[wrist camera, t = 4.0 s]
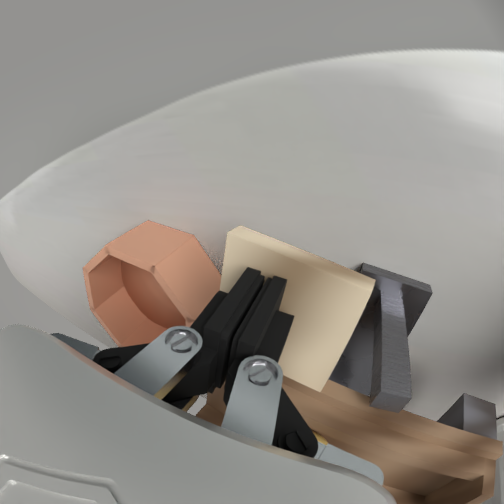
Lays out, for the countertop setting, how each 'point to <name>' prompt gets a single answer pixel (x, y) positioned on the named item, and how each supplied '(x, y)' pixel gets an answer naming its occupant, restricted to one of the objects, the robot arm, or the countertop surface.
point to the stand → (383, 340)
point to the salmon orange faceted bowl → (149, 283)
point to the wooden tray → (352, 402)
